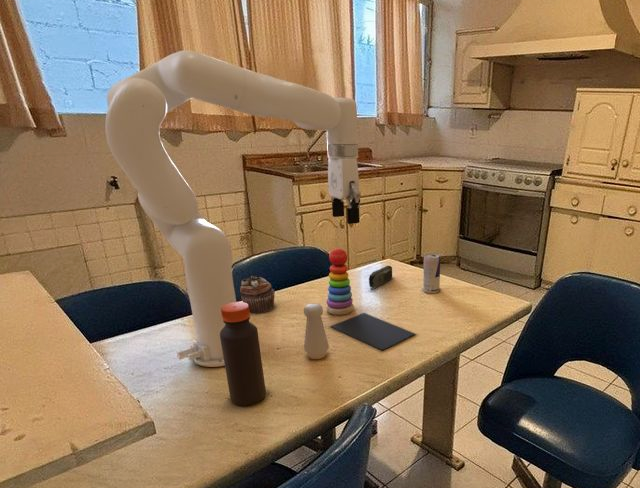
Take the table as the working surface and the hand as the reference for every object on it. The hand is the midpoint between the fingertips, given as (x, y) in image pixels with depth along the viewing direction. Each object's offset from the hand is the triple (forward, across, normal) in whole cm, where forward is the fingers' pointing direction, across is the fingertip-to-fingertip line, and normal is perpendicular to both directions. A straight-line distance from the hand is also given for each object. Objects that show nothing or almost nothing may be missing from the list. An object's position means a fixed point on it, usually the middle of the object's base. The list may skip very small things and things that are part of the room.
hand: (345, 219), depth 120 cm
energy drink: (+28, -6, +32) cm, 43 cm away
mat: (+28, +12, +1) cm, 30 cm away
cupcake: (+28, -19, -20) cm, 40 cm away
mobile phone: (+28, -20, +20) cm, 40 cm away
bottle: (+28, +26, -34) cm, 52 cm away
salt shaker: (+28, +17, -16) cm, 37 cm away
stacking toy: (+28, -6, -1) cm, 29 cm away
